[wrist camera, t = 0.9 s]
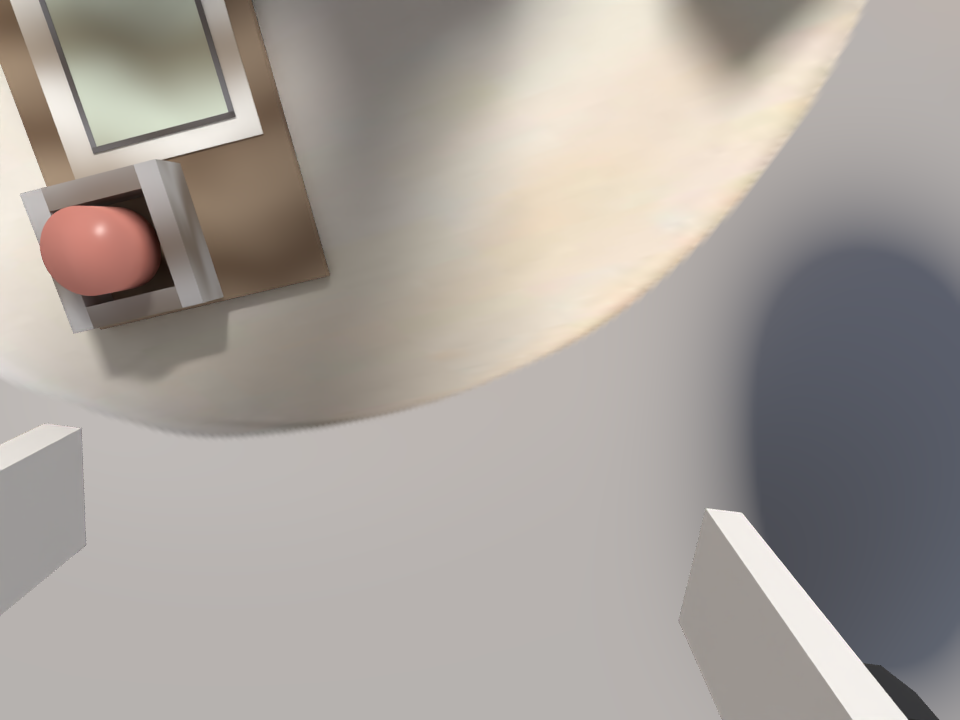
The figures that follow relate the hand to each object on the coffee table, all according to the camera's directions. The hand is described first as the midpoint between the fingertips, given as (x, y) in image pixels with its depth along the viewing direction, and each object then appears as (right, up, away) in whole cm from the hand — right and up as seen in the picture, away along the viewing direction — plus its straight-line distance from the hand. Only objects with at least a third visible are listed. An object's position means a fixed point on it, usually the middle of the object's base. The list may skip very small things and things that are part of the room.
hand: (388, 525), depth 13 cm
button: (-18, +10, +20) cm, 28 cm away
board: (-16, +16, +21) cm, 31 cm away
